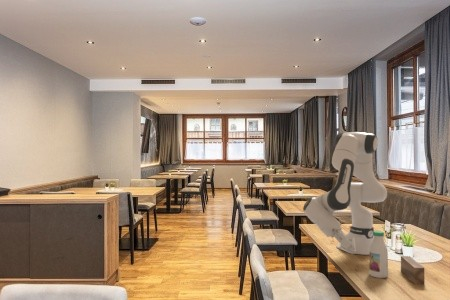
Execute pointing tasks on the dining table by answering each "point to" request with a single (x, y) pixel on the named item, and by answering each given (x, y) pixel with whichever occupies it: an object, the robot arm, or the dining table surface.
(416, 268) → the walnut block
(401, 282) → the dining table surface
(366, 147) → the robot arm
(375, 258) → the milk bottle
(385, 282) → the dining table surface
